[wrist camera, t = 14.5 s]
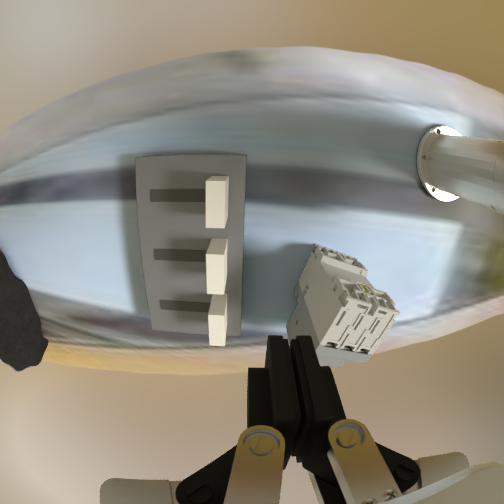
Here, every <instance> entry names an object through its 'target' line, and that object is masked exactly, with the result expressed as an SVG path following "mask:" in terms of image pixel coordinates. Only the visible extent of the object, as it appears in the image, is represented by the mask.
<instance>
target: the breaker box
mask: <svg viewBox="0 0 504 504" xmlns="http://www.w3.org/2000/svg"><path fill="white" fill-rule="evenodd" d="M246 160H247V155H230V154H188V155H159V156H144V157H137V158H135V167H136V197H137V214H138V227H139V238H140V248H141V257H142V266H143V273H144V281H145V288H146V294H147V301H148V307H149V312H150V318H151V323H152V329H153V330H160V331H170V332H182V333H195V334H209V341H210V345H214V346H225V340H226V335H229V336H241V307H242V272H243V241H244V212H245V185H246ZM211 176H229V192H228V218H227V222H226V225H225V228H206V180H207V179H209V178H210V177H211Z"/></svg>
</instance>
